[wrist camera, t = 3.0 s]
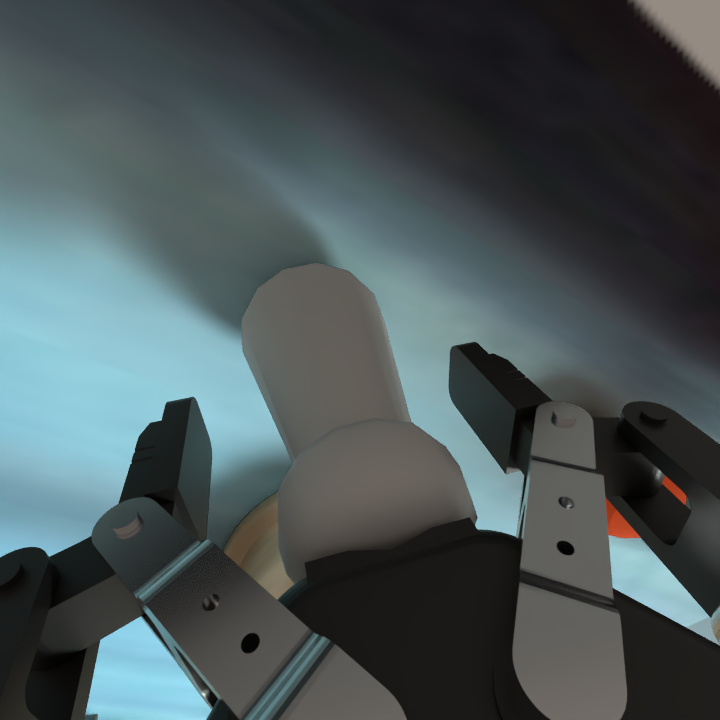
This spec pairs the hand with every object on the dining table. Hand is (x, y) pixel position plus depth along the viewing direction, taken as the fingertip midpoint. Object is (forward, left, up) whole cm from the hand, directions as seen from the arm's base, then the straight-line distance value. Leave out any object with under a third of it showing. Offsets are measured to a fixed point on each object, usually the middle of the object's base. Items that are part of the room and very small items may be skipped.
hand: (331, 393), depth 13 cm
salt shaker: (0, 0, -7) cm, 7 cm away
